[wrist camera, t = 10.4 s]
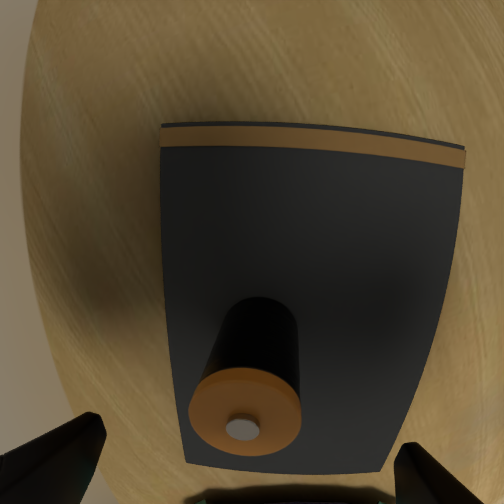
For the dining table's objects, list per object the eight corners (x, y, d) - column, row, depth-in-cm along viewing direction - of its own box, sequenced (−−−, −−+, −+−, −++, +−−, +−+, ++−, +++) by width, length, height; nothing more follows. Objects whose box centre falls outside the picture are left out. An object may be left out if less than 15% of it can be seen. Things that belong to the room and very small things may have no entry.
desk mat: (187, 458, 18) (185, 463, 18) (164, 124, 13) (160, 123, 12) (379, 467, 17) (380, 472, 17) (460, 146, 12) (466, 146, 11)
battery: (222, 358, 15) (190, 455, 9) (221, 293, 14) (180, 380, 8) (294, 364, 15) (294, 466, 9) (301, 298, 14) (309, 392, 8)
